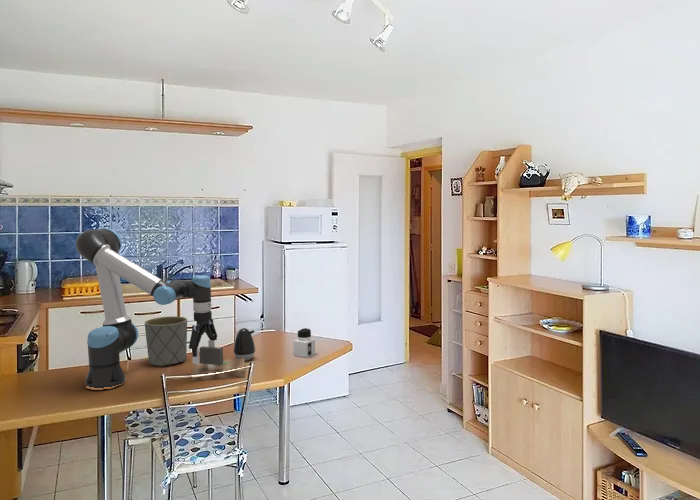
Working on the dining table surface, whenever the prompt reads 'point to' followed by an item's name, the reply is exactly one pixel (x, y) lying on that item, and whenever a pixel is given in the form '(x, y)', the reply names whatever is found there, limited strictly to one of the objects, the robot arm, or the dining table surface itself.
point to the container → (304, 343)
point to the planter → (166, 340)
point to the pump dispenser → (244, 344)
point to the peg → (211, 356)
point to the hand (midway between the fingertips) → (204, 359)
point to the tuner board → (220, 370)
